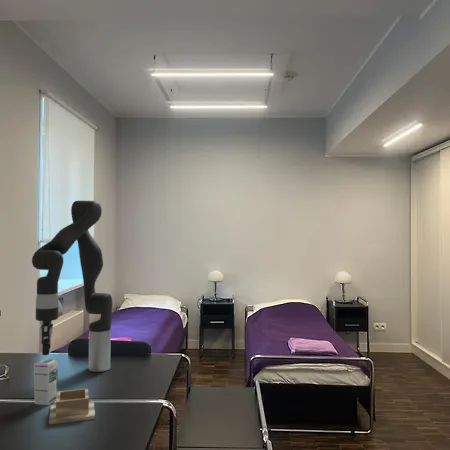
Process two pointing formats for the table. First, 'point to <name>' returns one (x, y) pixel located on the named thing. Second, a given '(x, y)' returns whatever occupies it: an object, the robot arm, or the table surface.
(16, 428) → the table surface
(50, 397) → the syrup box
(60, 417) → the wooden square holder
